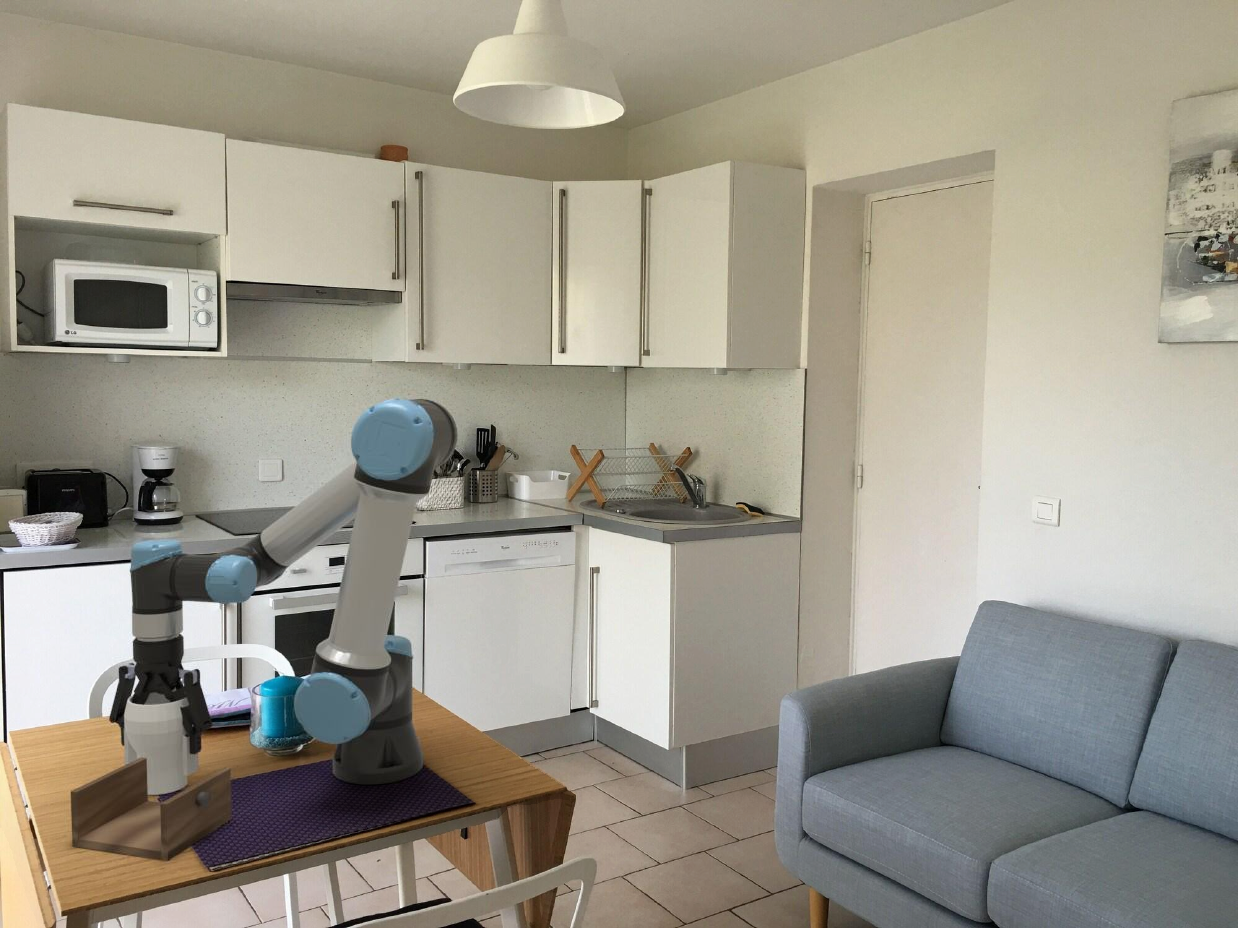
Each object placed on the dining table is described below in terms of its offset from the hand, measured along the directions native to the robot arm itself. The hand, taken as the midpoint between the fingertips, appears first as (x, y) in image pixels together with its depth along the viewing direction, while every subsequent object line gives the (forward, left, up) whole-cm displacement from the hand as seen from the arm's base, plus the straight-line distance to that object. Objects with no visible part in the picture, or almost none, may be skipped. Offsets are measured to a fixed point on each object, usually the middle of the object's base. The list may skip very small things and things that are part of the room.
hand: (161, 768), depth 167 cm
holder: (-11, +15, -3) cm, 19 cm away
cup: (0, 0, -3) cm, 3 cm away
